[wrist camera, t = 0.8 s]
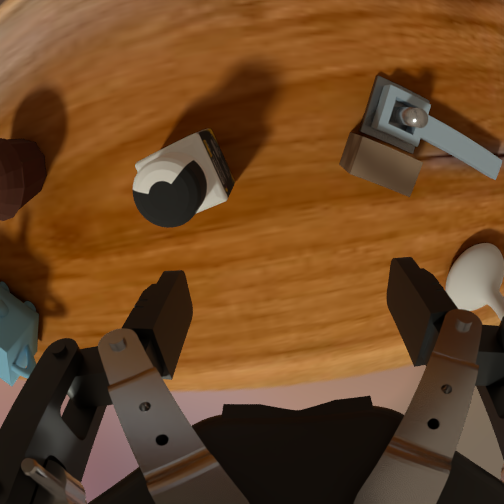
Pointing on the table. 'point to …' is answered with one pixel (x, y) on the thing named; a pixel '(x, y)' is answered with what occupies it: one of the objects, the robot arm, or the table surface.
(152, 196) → the medicine bottle
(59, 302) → the table surface
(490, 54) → the table surface
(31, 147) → the muffin
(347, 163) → the block
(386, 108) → the link
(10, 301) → the teakettle
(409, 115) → the pintle block
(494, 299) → the flower in vase
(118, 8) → the table surface
